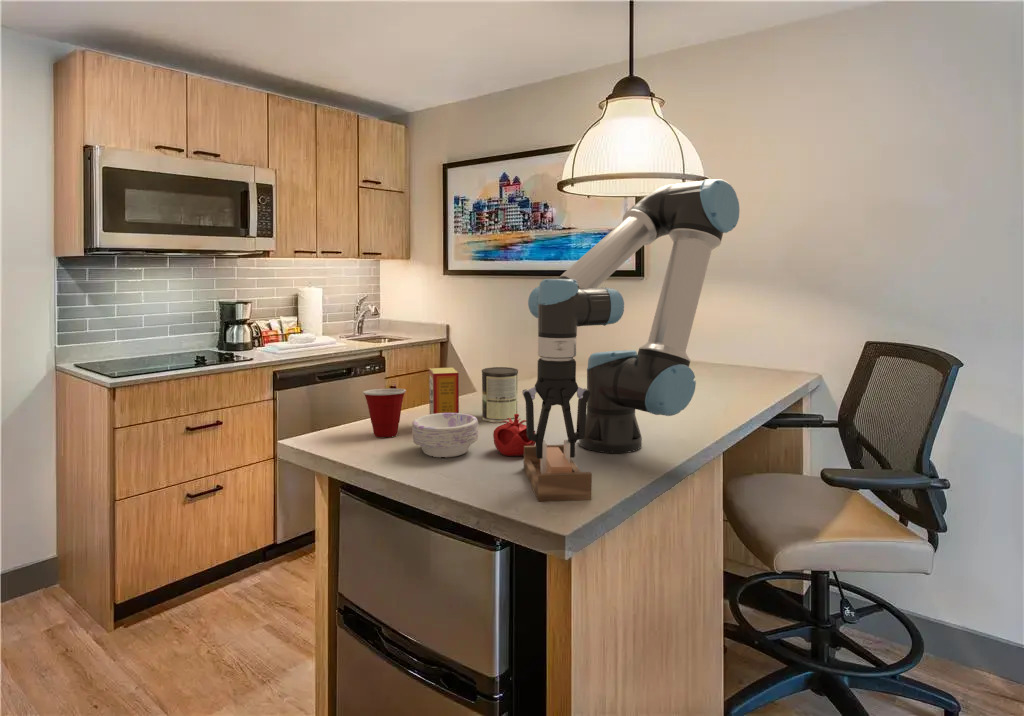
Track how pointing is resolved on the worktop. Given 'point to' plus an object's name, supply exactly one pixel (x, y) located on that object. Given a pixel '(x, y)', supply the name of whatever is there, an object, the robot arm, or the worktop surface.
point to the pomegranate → (512, 437)
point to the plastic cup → (385, 410)
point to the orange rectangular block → (556, 461)
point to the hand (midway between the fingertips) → (554, 473)
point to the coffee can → (499, 394)
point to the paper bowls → (445, 433)
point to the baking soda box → (443, 390)
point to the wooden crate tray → (556, 480)
